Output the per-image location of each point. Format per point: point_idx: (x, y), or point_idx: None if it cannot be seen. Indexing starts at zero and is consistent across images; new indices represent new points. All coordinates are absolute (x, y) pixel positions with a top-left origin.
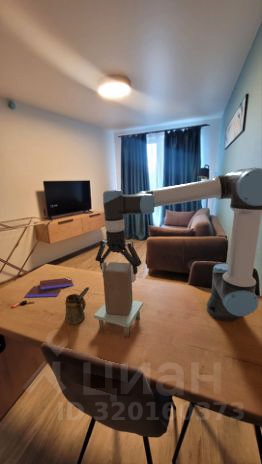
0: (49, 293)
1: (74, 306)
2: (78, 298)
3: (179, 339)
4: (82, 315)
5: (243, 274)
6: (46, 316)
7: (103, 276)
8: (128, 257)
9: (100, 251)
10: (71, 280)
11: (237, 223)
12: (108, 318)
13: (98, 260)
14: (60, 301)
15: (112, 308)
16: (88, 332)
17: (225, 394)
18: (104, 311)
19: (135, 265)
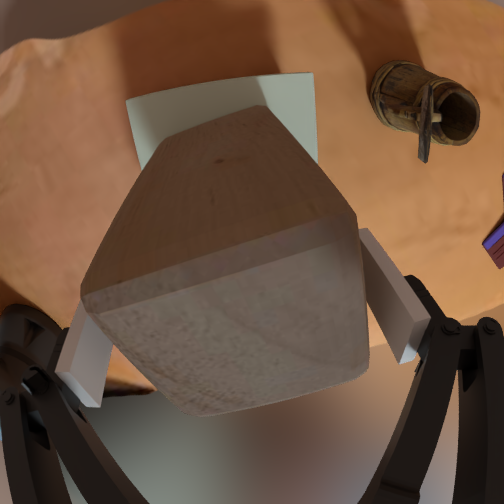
0: None
1: (423, 85)
2: (433, 111)
3: (32, 191)
4: (380, 99)
5: None
6: (481, 77)
7: (324, 177)
8: (69, 472)
9: (493, 437)
10: (494, 260)
11: None
12: (231, 82)
13: (470, 332)
14: (485, 158)
15: (228, 119)
16: (309, 49)
17: None
18: (282, 115)
19: (35, 394)
